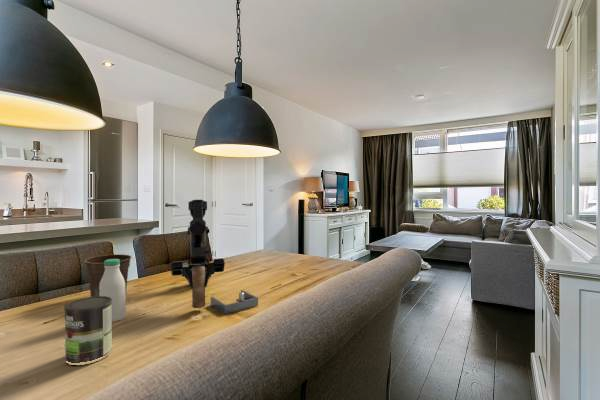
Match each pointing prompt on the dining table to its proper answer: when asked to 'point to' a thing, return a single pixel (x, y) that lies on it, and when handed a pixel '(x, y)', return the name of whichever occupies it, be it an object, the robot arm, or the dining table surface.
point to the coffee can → (88, 328)
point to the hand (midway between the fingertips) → (198, 287)
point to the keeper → (236, 303)
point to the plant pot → (97, 270)
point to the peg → (198, 286)
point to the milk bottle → (114, 288)
